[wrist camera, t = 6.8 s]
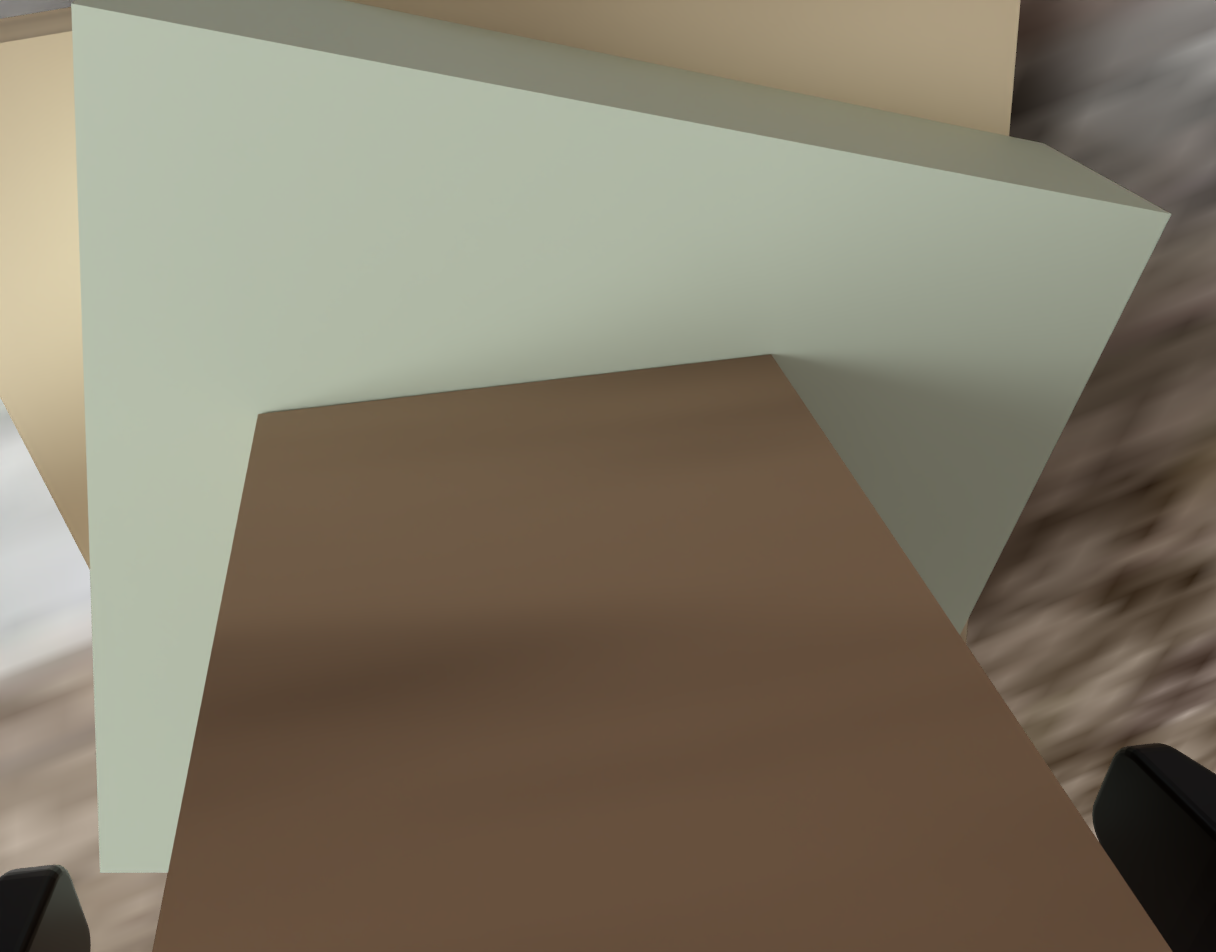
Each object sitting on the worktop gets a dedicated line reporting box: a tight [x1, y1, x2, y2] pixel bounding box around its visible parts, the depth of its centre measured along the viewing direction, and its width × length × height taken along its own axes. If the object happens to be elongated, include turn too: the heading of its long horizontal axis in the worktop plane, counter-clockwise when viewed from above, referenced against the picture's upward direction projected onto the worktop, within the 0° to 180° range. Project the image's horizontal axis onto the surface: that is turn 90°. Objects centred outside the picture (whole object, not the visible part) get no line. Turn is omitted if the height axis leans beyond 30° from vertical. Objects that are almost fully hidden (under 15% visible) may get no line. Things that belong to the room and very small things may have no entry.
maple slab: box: [0, 0, 1020, 643], centre depth 15 cm, size 12×12×2 cm
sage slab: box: [71, 0, 1171, 873], centre depth 13 cm, size 10×10×2 cm
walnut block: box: [152, 354, 1172, 952], centre depth 9 cm, size 5×5×7 cm
